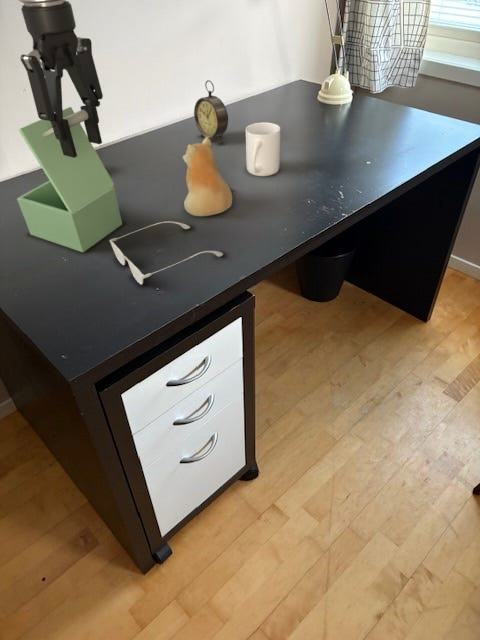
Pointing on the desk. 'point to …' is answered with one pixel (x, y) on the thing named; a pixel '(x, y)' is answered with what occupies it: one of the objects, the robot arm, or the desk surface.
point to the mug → (263, 148)
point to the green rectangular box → (69, 217)
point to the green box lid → (68, 161)
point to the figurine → (204, 182)
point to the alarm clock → (211, 116)
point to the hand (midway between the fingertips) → (83, 148)
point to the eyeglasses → (134, 269)
